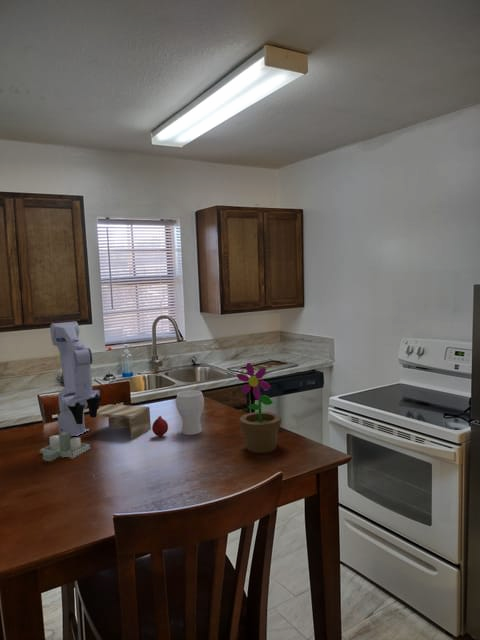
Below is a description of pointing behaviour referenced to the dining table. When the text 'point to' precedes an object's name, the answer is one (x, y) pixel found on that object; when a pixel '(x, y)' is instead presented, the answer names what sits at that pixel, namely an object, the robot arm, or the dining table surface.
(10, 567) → the dining table surface
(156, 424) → the onion
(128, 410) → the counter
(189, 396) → the cup
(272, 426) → the flowerpot
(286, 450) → the dining table surface
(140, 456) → the dining table surface
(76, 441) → the white egg
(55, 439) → the grey rounded piece
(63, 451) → the tray
